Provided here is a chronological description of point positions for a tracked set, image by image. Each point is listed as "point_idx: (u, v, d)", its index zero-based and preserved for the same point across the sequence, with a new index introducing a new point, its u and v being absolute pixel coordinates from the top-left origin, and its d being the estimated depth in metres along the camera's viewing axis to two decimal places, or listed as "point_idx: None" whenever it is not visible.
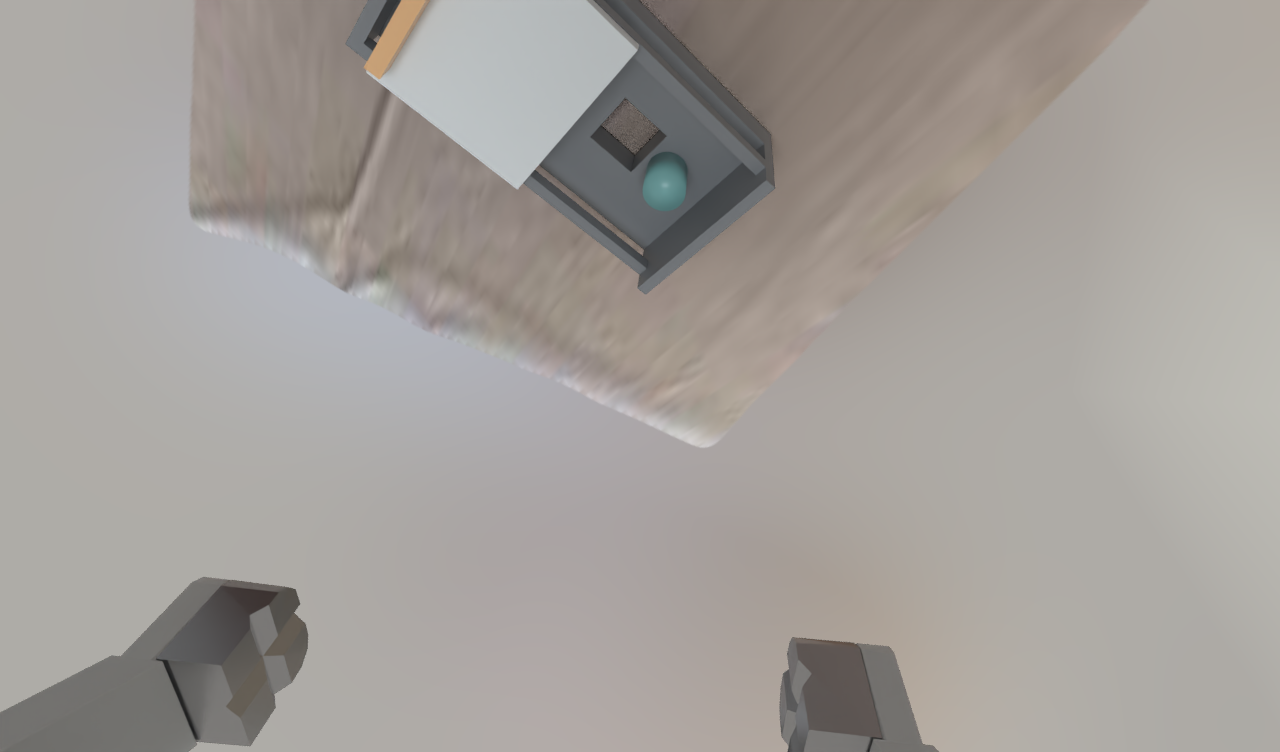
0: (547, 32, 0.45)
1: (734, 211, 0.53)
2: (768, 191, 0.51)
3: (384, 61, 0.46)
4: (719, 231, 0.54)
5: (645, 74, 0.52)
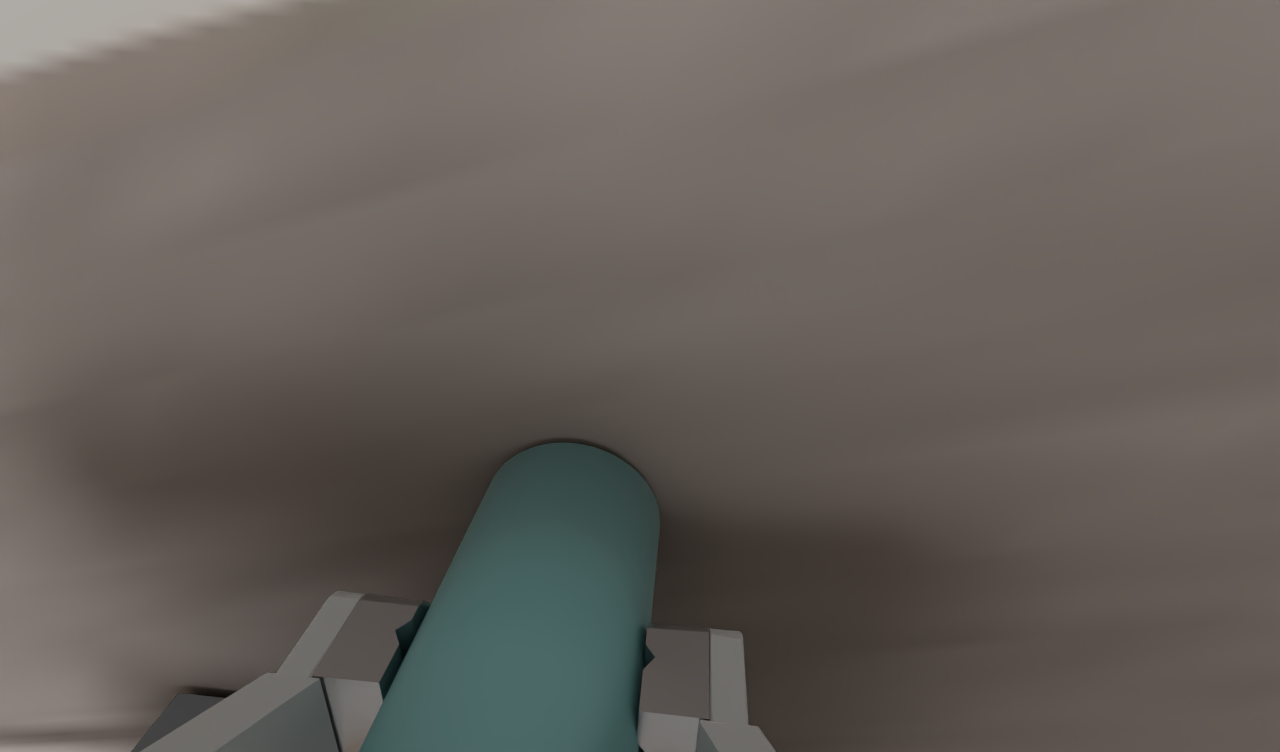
0: None
1: None
2: None
3: None
4: None
5: None
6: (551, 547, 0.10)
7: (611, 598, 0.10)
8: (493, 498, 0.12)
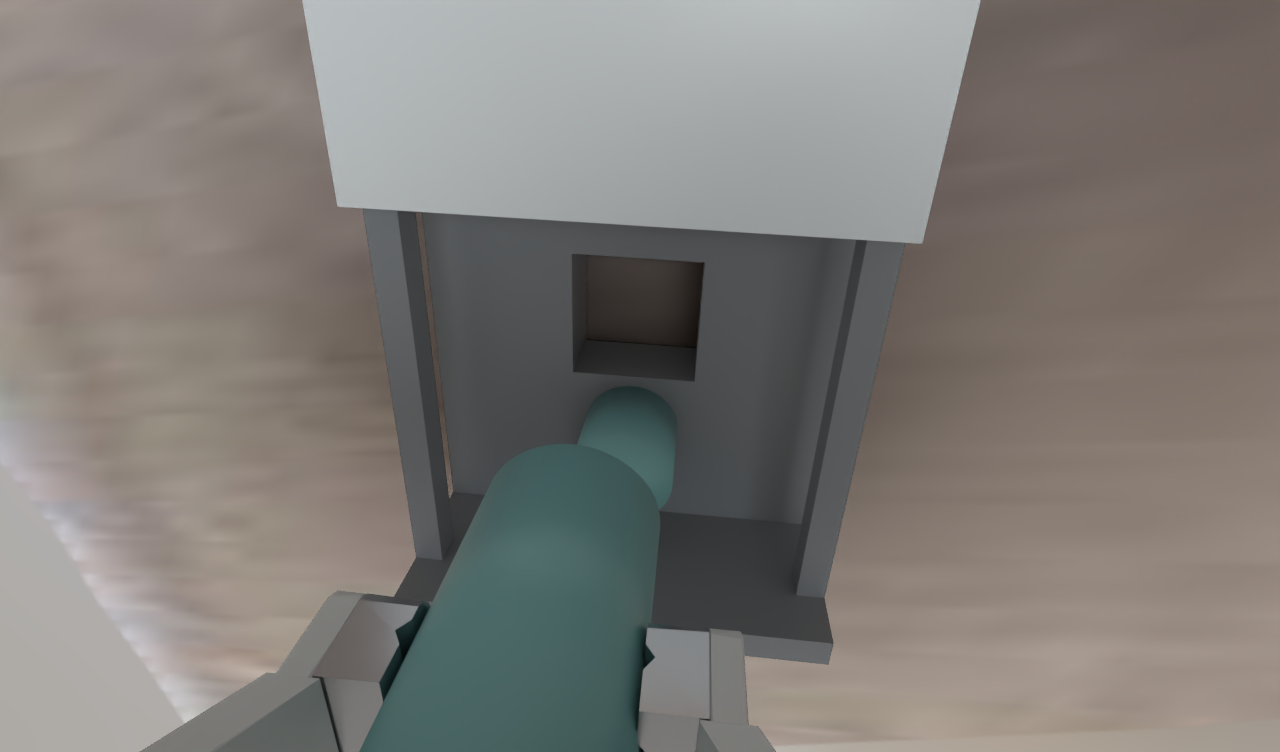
0: None
1: None
2: (813, 659, 0.22)
3: None
4: None
5: (778, 266, 0.22)
6: (552, 549, 0.10)
7: (611, 600, 0.10)
8: (493, 500, 0.12)
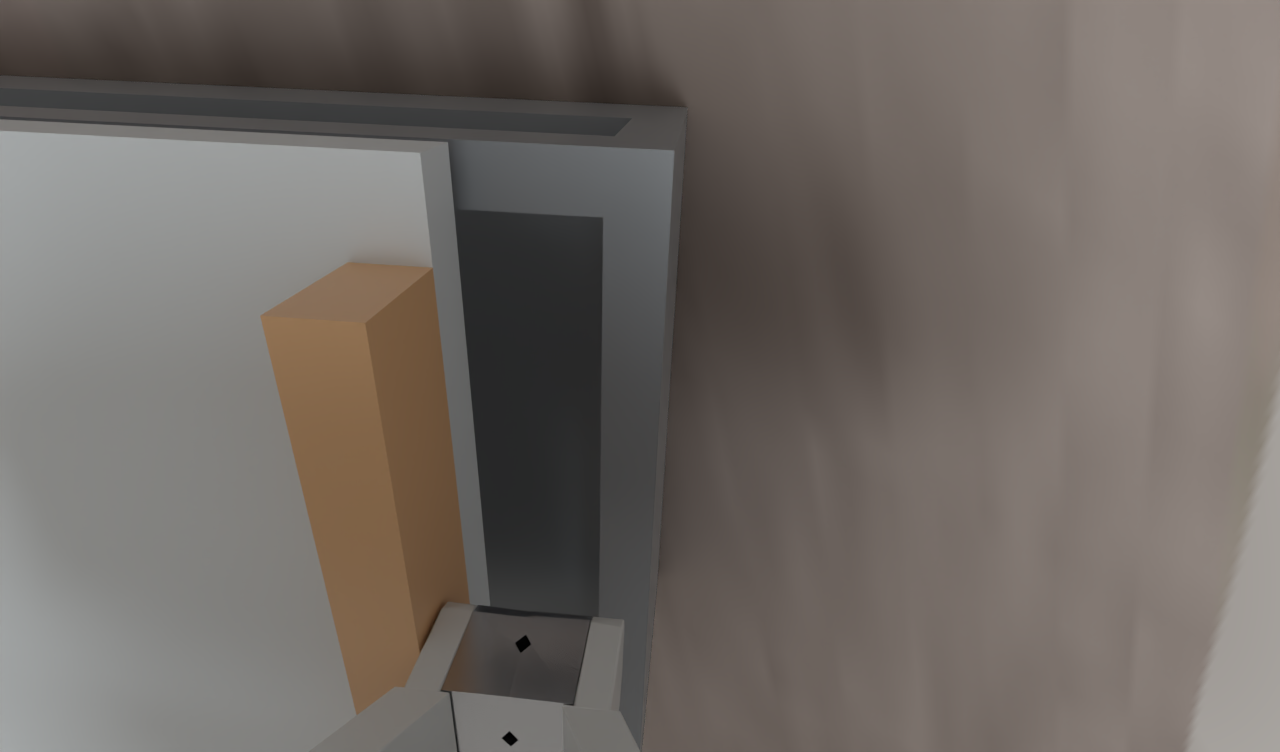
0: (107, 698, 0.14)
1: None
2: None
3: (309, 429, 0.08)
4: None
5: None
6: None
7: None
8: None
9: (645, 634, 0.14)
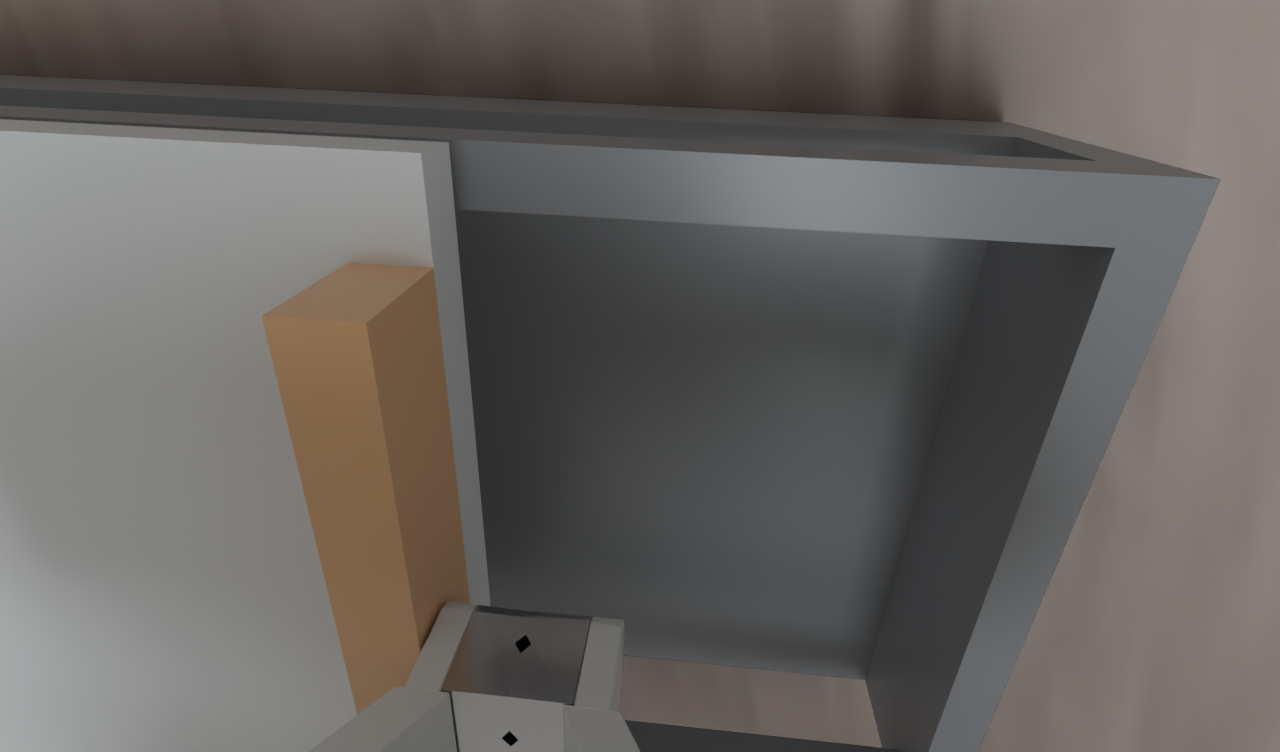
0: (108, 697, 0.14)
1: None
2: None
3: (311, 429, 0.08)
4: None
5: None
6: None
7: None
8: None
9: (1010, 670, 0.13)
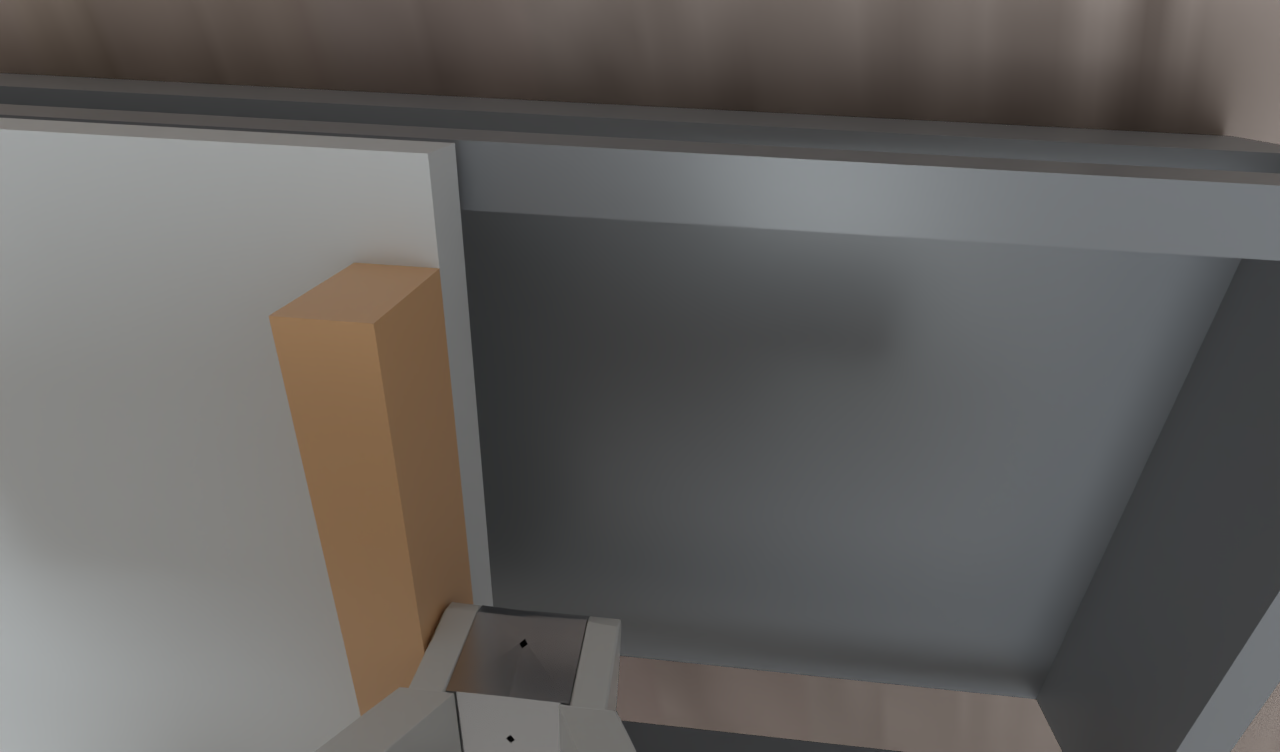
0: (109, 697, 0.14)
1: None
2: None
3: (317, 429, 0.08)
4: None
5: None
6: None
7: None
8: None
9: (1266, 698, 0.13)
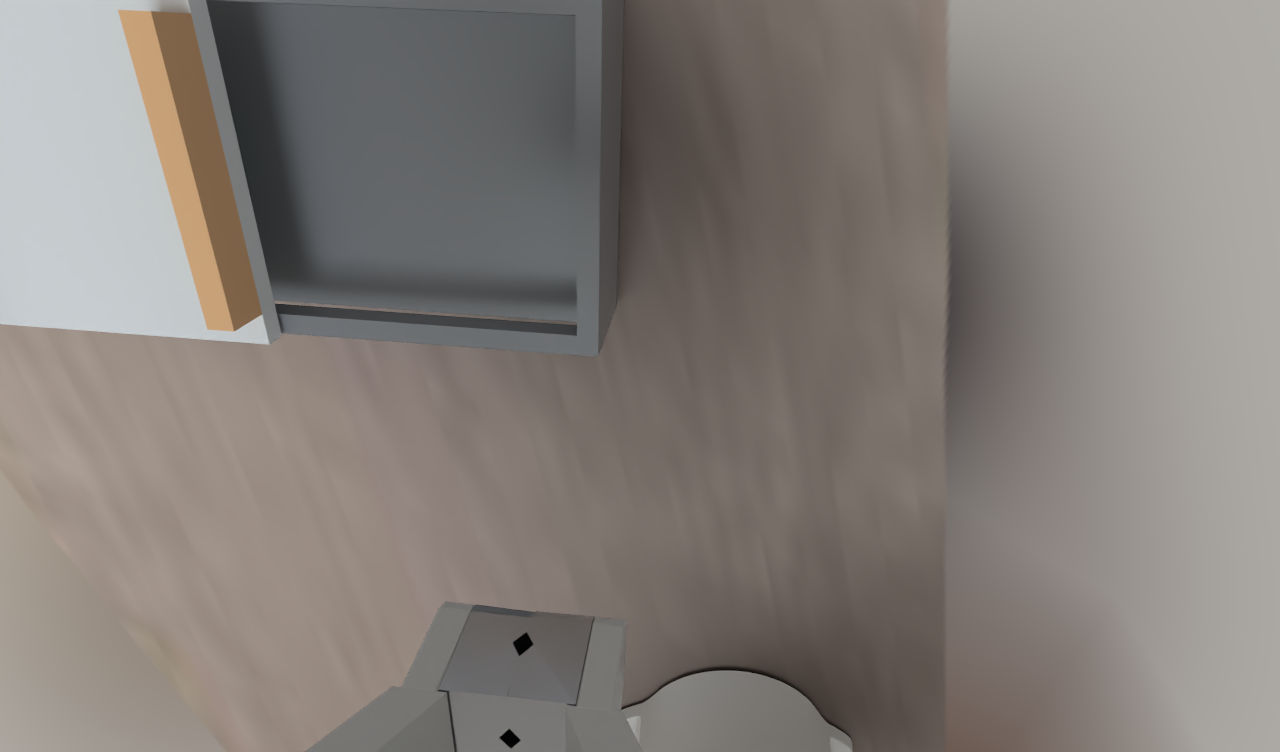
0: (77, 261, 0.30)
1: None
2: None
3: (138, 56, 0.23)
4: None
5: (264, 251, 0.34)
6: None
7: None
8: None
9: (598, 242, 0.28)
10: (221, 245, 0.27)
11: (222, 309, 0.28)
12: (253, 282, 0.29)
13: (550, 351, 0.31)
